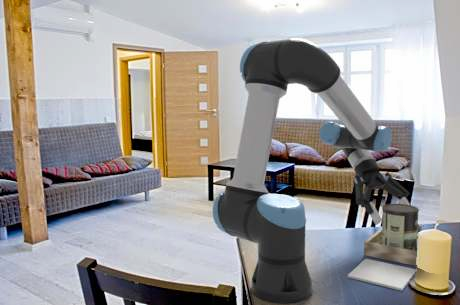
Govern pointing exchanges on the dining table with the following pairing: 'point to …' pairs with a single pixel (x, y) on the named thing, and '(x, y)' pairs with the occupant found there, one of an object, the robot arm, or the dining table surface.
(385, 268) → the ceramic tile
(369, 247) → the crate frame
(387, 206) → the coffee can
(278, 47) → the robot arm
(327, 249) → the dining table surface
